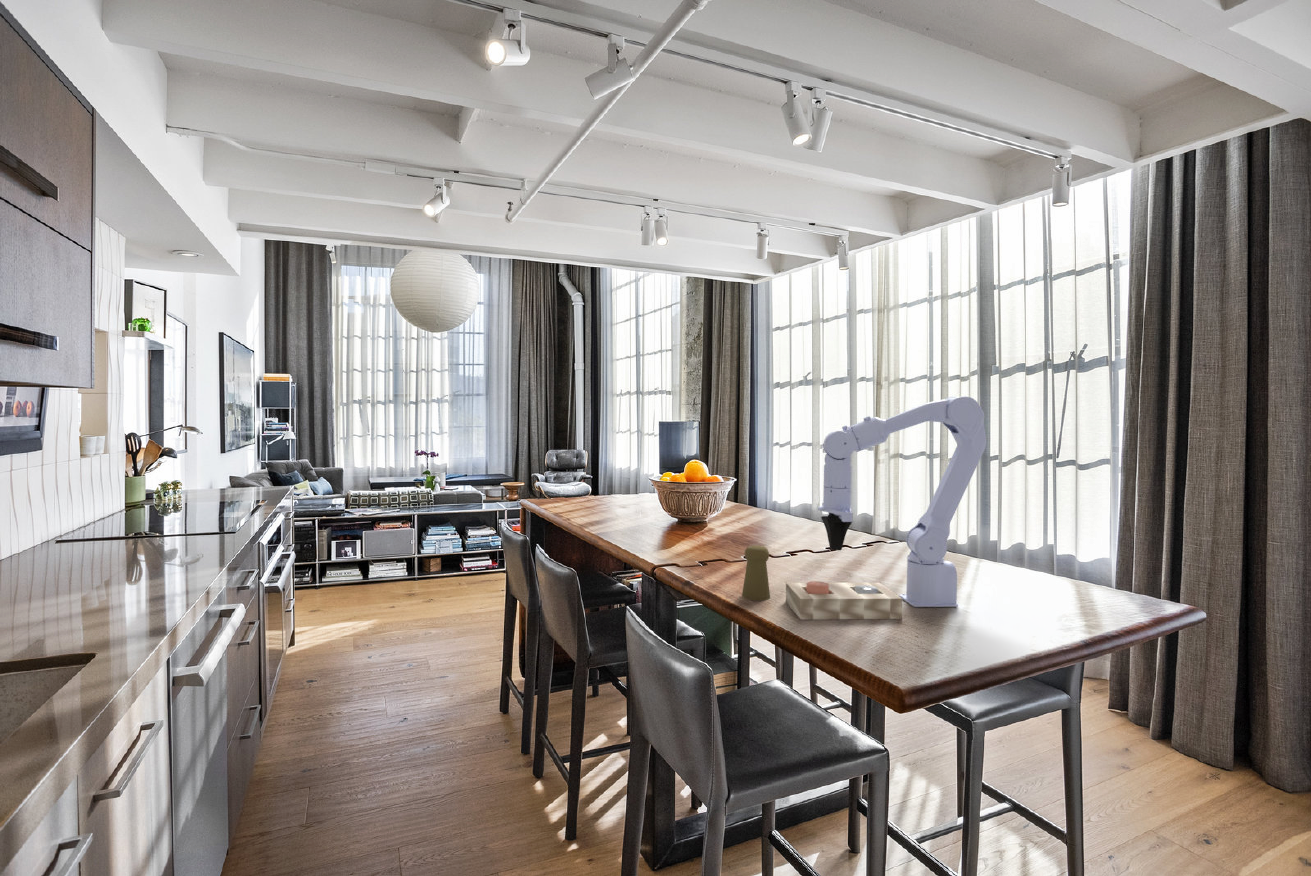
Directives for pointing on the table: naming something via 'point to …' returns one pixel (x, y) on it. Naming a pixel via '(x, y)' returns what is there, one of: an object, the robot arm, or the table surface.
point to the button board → (844, 602)
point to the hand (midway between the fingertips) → (835, 549)
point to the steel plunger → (866, 589)
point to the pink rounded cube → (817, 587)
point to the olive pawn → (756, 574)
